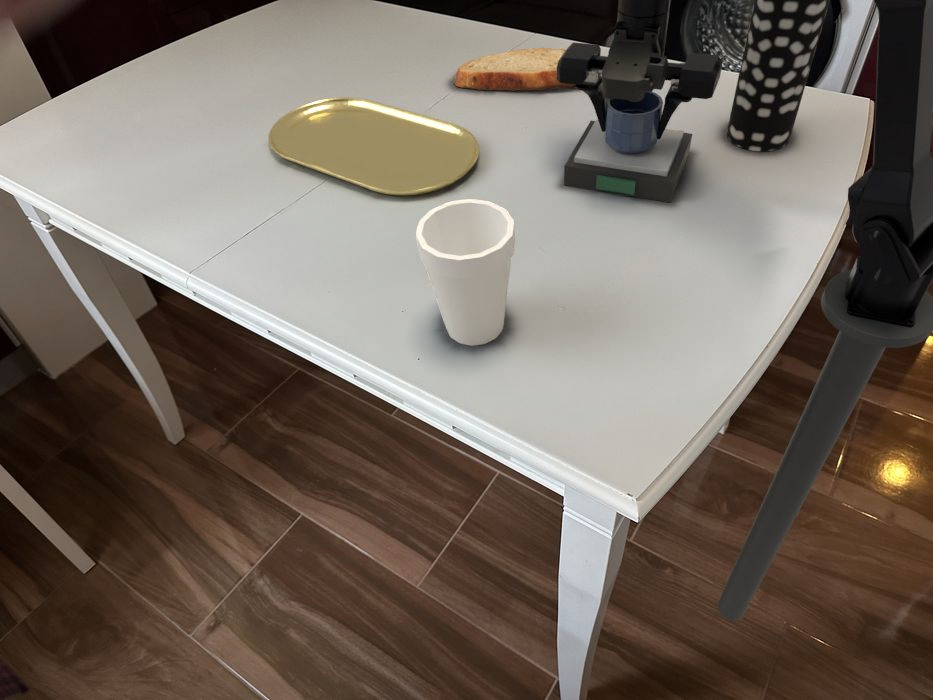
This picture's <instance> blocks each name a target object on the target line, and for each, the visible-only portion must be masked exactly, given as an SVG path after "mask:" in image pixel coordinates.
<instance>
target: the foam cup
mask: <svg viewBox="0 0 933 700" xmlns="http://www.w3.org/2000/svg"><path fill="white" fill-rule="evenodd" d="M515 234H516V233H515V220H514V218H513V217H512V216H511V215H510V213H509V212H508V210H507V209H506V208H504V207H503V206H501V205H498V204H496V203H495V202H493V201H489V200H483V199H475V198H466V199H465V198H464V199H458V200H451V201H448V202H445V203H442V204H441V205H438V206H436V207H433V208H431V209H430V210H429V211H428V212H427V213H426V214H425V215H424V216H423V217H422V218H421V219H419V221H418V223H417V227H416V230H415V240H416V241H415V242H416V245H417V254H418V256H419V258H420V260H421V262H422V264H423V266H424V268H425V271H426V273H427V276H428V279H429V283H430V285H431V288H432V291H433V295H434V298H435V300H436V303H437V305H438V306H437V307H438V309H439V312H440V315H441V318H442V321H443V324H444V326H445V328H446V331H447V333H448V335H449V337H450V338H451V339H452V340H454V341H456V342H457V343H458V344H461V345H466V346H471V347H473V346H479V345H480V346H481V345H486V344H487V343H490V342H491V341H494V340H496V339H497V338H498V337H499V335H500V334H501V333H502V332H503V330H504V325H505V317H506V308H507V299H508V290H509V281H510V272H511V265H512V264H511V262H512V257H514V253H515V245H516V235H515Z"/></svg>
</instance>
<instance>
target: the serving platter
mask: <svg viewBox="0 0 933 700" xmlns="http://www.w3.org/2000/svg"><path fill="white" fill-rule="evenodd" d="M268 144H269V147H270V148H271V150H272V151H273V152H274V153H276V154H277V155H278V156H279V157H281V158H283V159H285V160H287V161H289V162H292V163H295V164H298V165H301V166H303V167H306V168H309V169H312V170H315V171H317V172H319V173H323V174H326V175H329V176H330V177H331V176H332V177H334V178H337V179H339V180H342V181H346V182H347V183H351V184H353V185H356V186H360V187H362V188H365V189H368V190H370V191H373V192H376V193H380V194H384V195H390V196H418V195H423V194H428V193H432V192H435V191H438V190H439V191H440V190H442V189H444V188H447V187H448V186H450V185H453V184H455V183H457V182H458V181H459V180H460V179H462V178H463V177H464V176H466V175H467V174H468V173H469V172H470V171H471V170H472V169H473V167H474V166H475V164H476V162H477V160H478V158H479V155H480V146H479V142H478V140H477V138H476V137H475V136H474V134H473V133H472V132H471V131H470V130H468V129H467V128H465V127H463V126H461V125H459V124H456V123H453V122H449V121H445V120H442V119H439V118H435V117H431V116H427V115H425V114H421V113H417V112H413V111H410V110H406V109H402V108H400V107H396V106H392V105H388V104H386V103H381V102H378V101H374V100H371V99H367V98H361V97H354V96H353V97H351V96H348V97H347V96H345V97H343V96H342V97H341V96H340V97H331V98H326V99H321V100H316V101H312V102H309V103H307V104H306V103H305V104H303V105H301V106H299V107H296V108H294V109H293V110H292V109H291V111H289V112H287V113H285V114H284V115H282V116H281V117H280V118H279V119H278V120H277V121H276V122H275V123H274V124H273V125H272V127H271V128H270V130H269V132H268Z"/></svg>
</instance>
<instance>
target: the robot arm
mask: <svg viewBox="0 0 933 700" xmlns="http://www.w3.org/2000/svg"><path fill="white" fill-rule="evenodd" d="M671 1H672V0H618V3H617V15H616V16H617V17H616V24H615V26H614V32H613V40H612V41H611V45H610V47H609V49H608V53H607V56H605V55H601V53H602V49H601V46H600V44H593V43H583V42H572V43H571V44H570V45H569V46H568V47H567V48H566V49H565V50H566V51H565V52H564V54H563V55H562V57H561V58H560V59H559V61H558V65H557V81H558V82H559V83H566V84H575V86H574V87H575V89H576V90H577V91H581V92H583V93H585V94H586V95H587V96H588V97H589V100H590V101H591V104H592V106H593V109H594V111H595V115H596V118H597V120H598V121H599V124H600V127H601V130H602V132H604V130H605V115H606V101H607V99H624V100H629V101H630V102H638V101H641V100H642V99H643V98H644V96H645V93H646V92H654V91H653V90H663V88H664V85H665V82H666V81H668V82H669V81H670V86H669V88H668V91H667V92H666V95H665V97H664V103H663V108H662V116H661V119H660V123H659V127H658V134H657V139H660V138H661V136H662V134H663V132H664V130H665V129H667V126H668V124H669V122H670V120H671V118H672V116H673V114H674V113H675V111H676V110H677V109H678V107H679V106H680V105H681V104H682V103H689V102H692V100H693V99H702V100H709V99H712V98H713V96H714V94H715V91H716V88H717V86H718V83H719V81H720V78H721V73H722V69H723V61H722V59H721V57H720V56H719V55H715V54H704V53H695V52H694V53H693V52H689V53H688V54H687V56H686V57H687V58H686V60H685V61H684V62H680V63H678V62H669V61H668V56H667V55H665V49H666V43H667V34H668V33H667V31H668V24H669V18H670V10H671V9H670V8H671ZM873 2H874V4H875V6H876V8H877V12H878V13H877V14H878V22H877V23H878V25H877V52H876V77H875V103H874V104H875V105H874V106H875V107H874V128H873V154H872V155H873V157H872V165H871V167H870V168H869V169H868V170H867V171H866V172H865V173H863V174H862V175H861V176H860V177H859V178H858V179H856V180H855V181H854V182H853V183H852V184H851V185H850V186H849V187H848V189H847V202H848V207H849V213H848V218H847V219H846V221H845V226H846V227H849V226H852V227H851V231H852V236H853V238H854V241H855V243H856V244H859V245H858V246H859V256H858V257H856V259H855V261H854V264H853V265H852V268H851V270H852V271H851V273H850V276H849V278H848V280H847V283H846V289H845V298H846V299H847V300H848V304H847V314H848V315H851V316H855V317H860V318H865V319H870V320H875V321H880V322H885V323H889V324H894V325H899V326H904V327H910V328H911V327H913V326H914V324H915V311H916V309H917V307H918V306H919V304H920V302H921V300H922V298H923V296H924V295H925V293H926V291H928V289H929V288H930V286H931V284H932V282H933V159H932V157H931V139H932V129H933V128H932V127H933V0H873ZM852 311H853V312H852Z"/></svg>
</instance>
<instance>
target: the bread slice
mask: <svg viewBox="0 0 933 700" xmlns="http://www.w3.org/2000/svg"><path fill="white" fill-rule="evenodd" d="M566 50H567V49H565V48H547V47H539V48H538V47H537V48H536V47H534V48H521V49H520V48H519V49H513V50H510V51H507V52H500V53H494V54H490V55H484V56H481V57H478V58H476V59H472V60H470V61H467V62H465V63H464V64H462V65H460V66H459V67H458V68H457V71H456V73H455V75H454V78H453V79H454V80H453V83H454V85H455V86H456V87H458V88H460V89H461V88H462V89H465V88H466V89H467V88H468V89H471V90H473V89H474V90H478V91H481V90H482V91H483V90H485V91H511V92H513V91H524V92H525V91H536V92H537V91H541V90H549V91H552V90H554V89H561V88H562V89H563V88H571V87H575V84H566V83H559V82H558V81H557V65H558V61H559V59H560V58H561V57H562V55H563V54H564V52H565V51H566Z"/></svg>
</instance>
